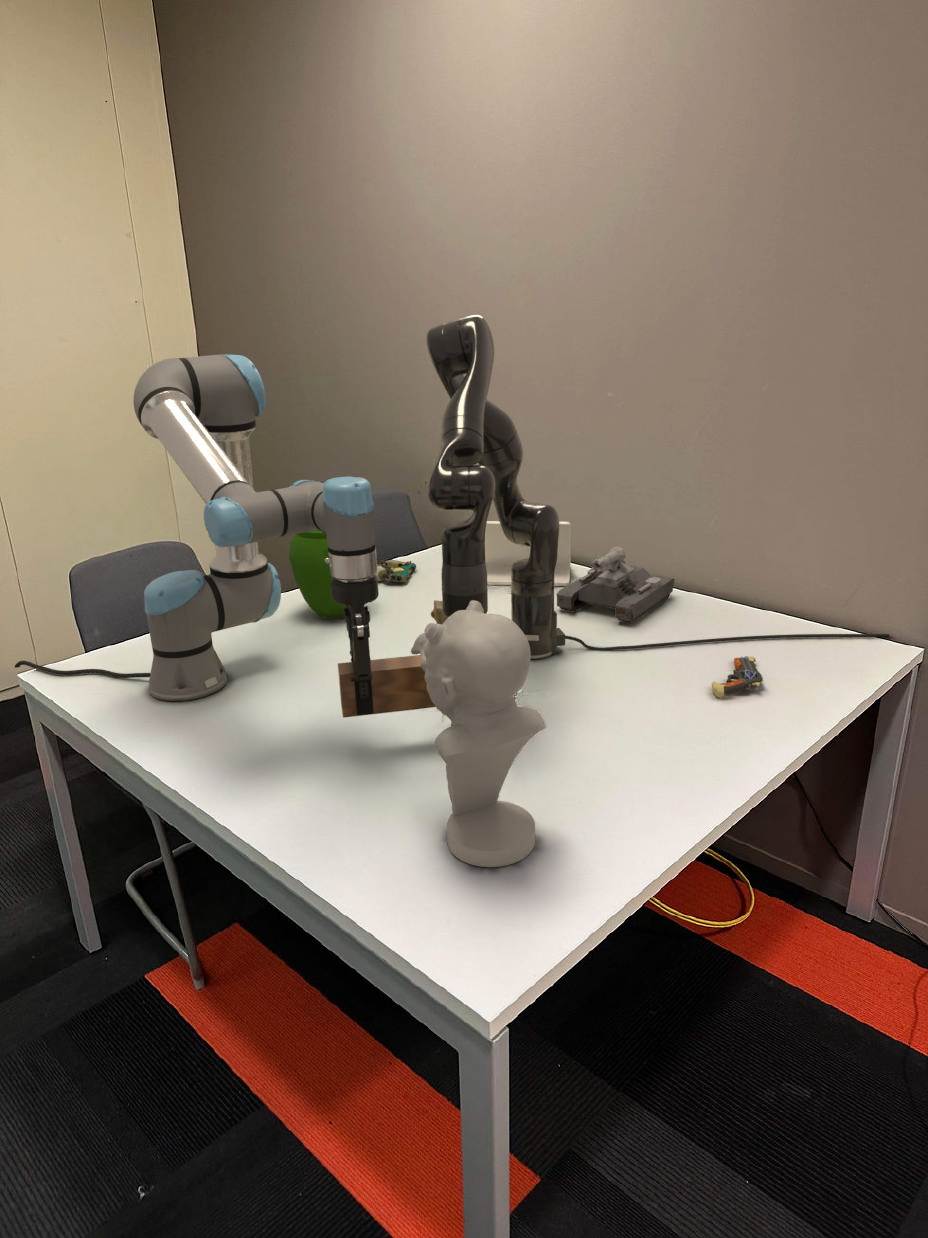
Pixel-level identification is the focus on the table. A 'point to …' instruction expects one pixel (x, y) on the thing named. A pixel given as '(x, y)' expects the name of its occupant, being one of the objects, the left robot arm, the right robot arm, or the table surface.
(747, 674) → the toy gun
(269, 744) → the table surface
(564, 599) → the toy
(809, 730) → the table surface
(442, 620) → the sculpture
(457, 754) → the bust sculpture
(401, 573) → the spray gun
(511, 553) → the tablet stand
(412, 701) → the bar
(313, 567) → the vase
